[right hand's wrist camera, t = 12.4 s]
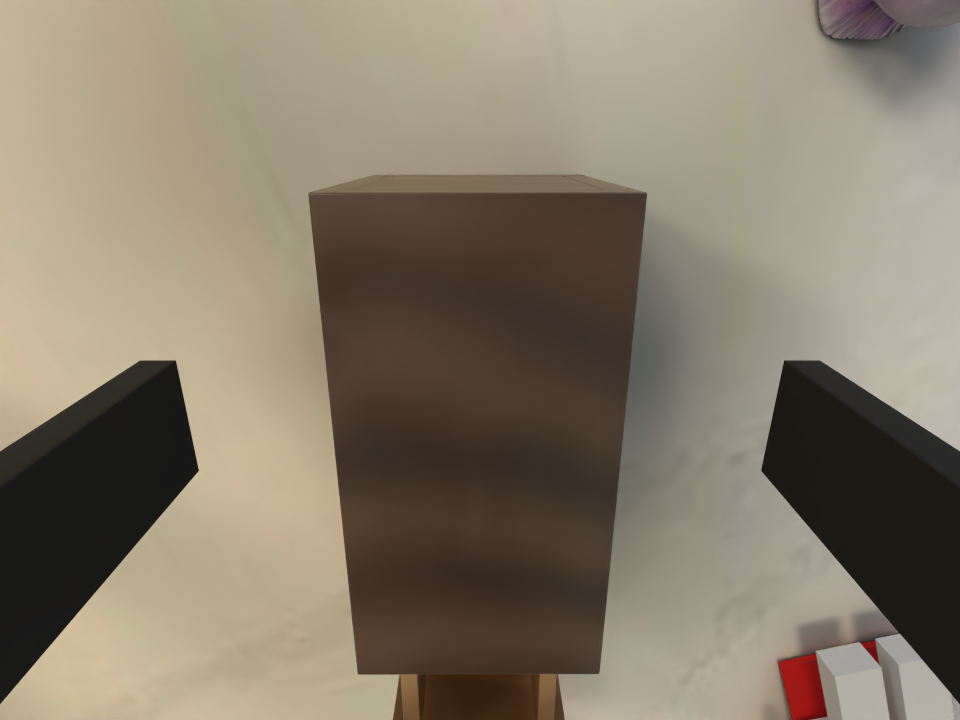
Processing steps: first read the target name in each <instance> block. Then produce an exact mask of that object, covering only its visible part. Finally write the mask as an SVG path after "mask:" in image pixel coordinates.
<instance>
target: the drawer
mask: <svg viewBox="0 0 960 720" xmlns="http://www.w3.org/2000/svg"><path fill="white" fill-rule="evenodd" d="M393 720H565V719H564V712H563V706H562V699H561V692H560V686H559V679H558V674H400V676H399V682H398V689H397V696H396V702H395V709H394V716H393Z"/></svg>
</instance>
